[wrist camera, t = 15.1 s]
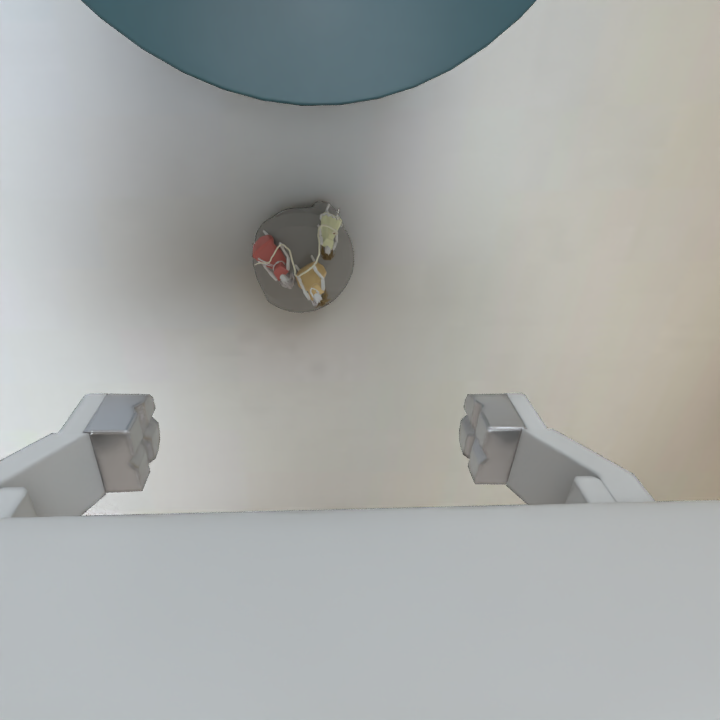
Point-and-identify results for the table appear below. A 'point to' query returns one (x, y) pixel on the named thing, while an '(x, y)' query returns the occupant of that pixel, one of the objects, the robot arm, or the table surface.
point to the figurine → (303, 257)
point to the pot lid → (312, 42)
